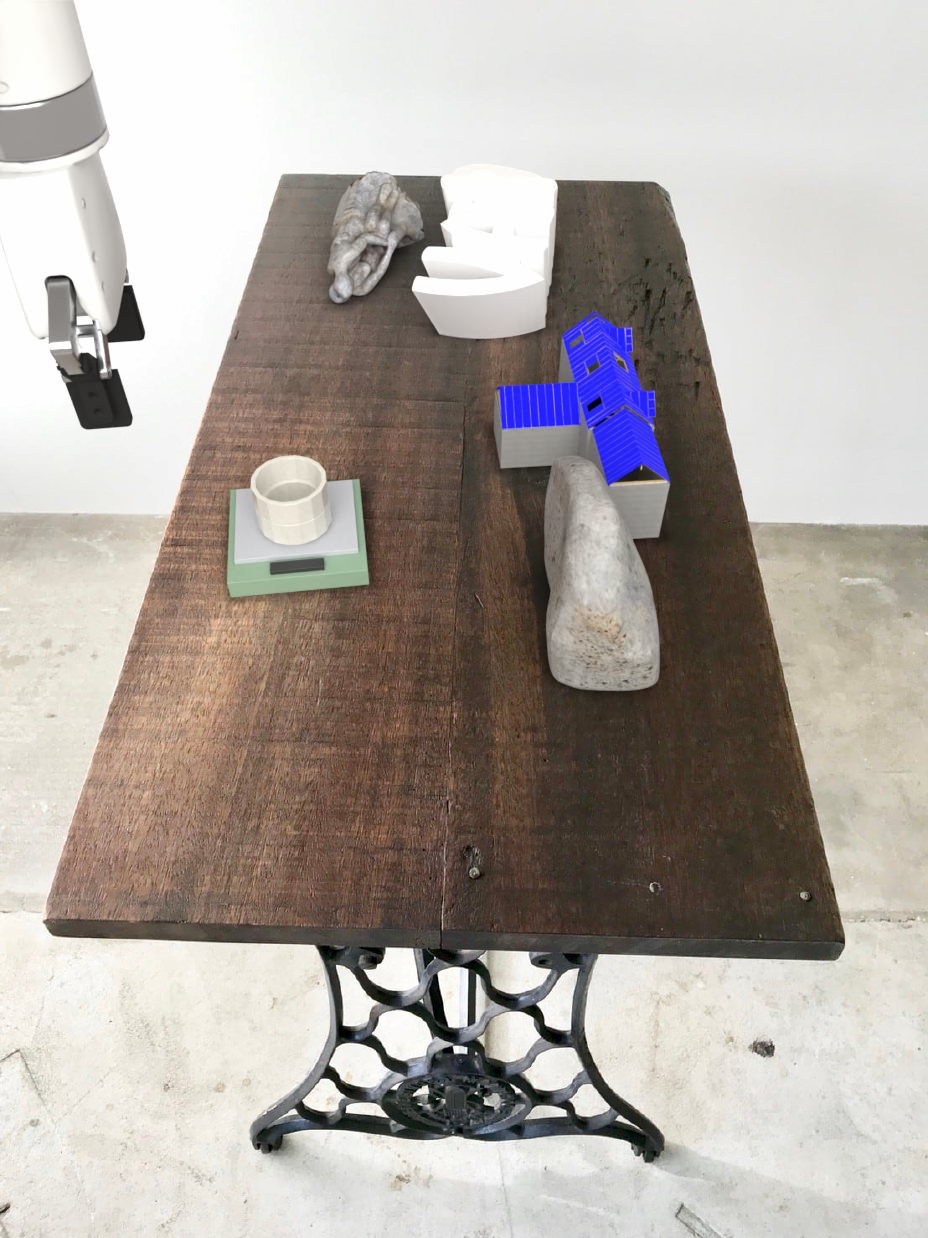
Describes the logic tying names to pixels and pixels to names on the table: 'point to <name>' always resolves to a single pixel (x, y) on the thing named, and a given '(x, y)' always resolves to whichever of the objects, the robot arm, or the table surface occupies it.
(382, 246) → the sculpture
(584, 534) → the decorative stone
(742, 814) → the table surface
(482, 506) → the table surface
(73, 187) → the robot arm
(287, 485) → the white cup
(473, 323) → the wavy white extrusion
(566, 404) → the house model
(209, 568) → the table surface
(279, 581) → the scale
